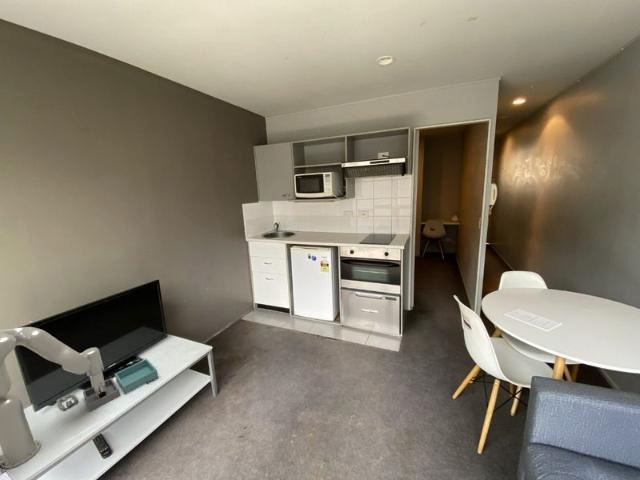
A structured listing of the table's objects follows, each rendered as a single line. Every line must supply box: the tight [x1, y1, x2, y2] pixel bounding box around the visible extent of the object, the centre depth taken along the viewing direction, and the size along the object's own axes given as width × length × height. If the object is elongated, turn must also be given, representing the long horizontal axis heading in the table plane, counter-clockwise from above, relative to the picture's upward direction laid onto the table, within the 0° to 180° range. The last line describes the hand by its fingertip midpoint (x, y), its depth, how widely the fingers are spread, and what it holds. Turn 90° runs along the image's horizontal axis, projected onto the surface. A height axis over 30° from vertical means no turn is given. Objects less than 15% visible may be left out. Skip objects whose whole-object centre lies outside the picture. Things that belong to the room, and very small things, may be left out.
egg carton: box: [56, 393, 79, 411], centre depth 155 cm, size 11×8×4 cm
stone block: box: [96, 386, 108, 399], centre depth 158 cm, size 4×4×6 cm
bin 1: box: [82, 377, 121, 412], centre depth 159 cm, size 14×16×5 cm
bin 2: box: [114, 358, 159, 395], centre depth 172 cm, size 18×18×6 cm
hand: (102, 395), depth 159 cm, fingers closed on stone block, 4 cm apart
